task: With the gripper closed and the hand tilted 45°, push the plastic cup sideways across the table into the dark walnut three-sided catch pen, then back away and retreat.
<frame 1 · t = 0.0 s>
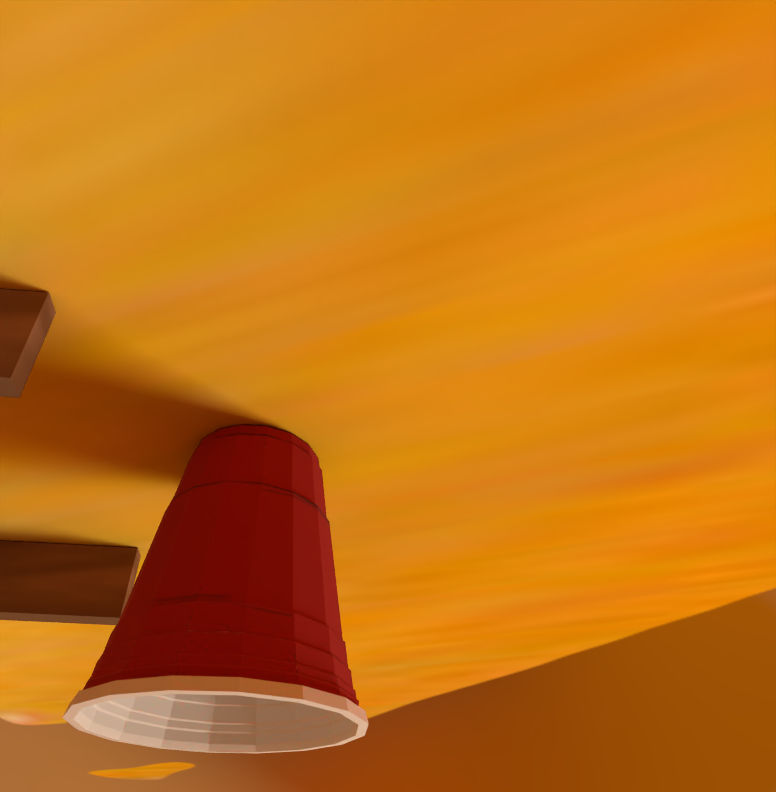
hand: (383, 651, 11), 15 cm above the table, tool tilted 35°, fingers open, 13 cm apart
plastic cup: (259, 460, 34), on the table
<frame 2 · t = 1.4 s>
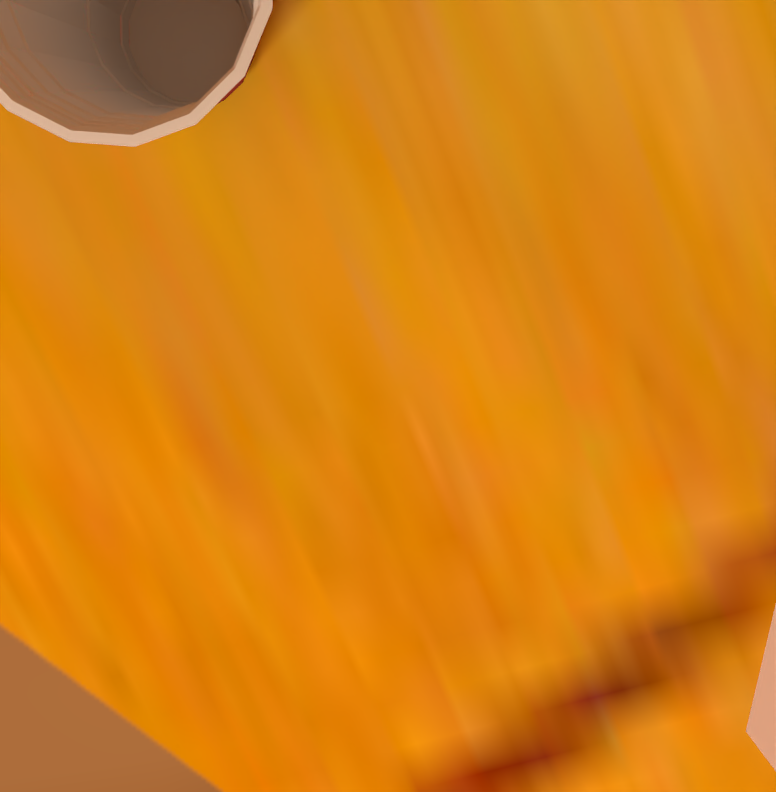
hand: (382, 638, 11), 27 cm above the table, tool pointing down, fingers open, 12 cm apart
plastic cup: (185, 41, 33), on the table
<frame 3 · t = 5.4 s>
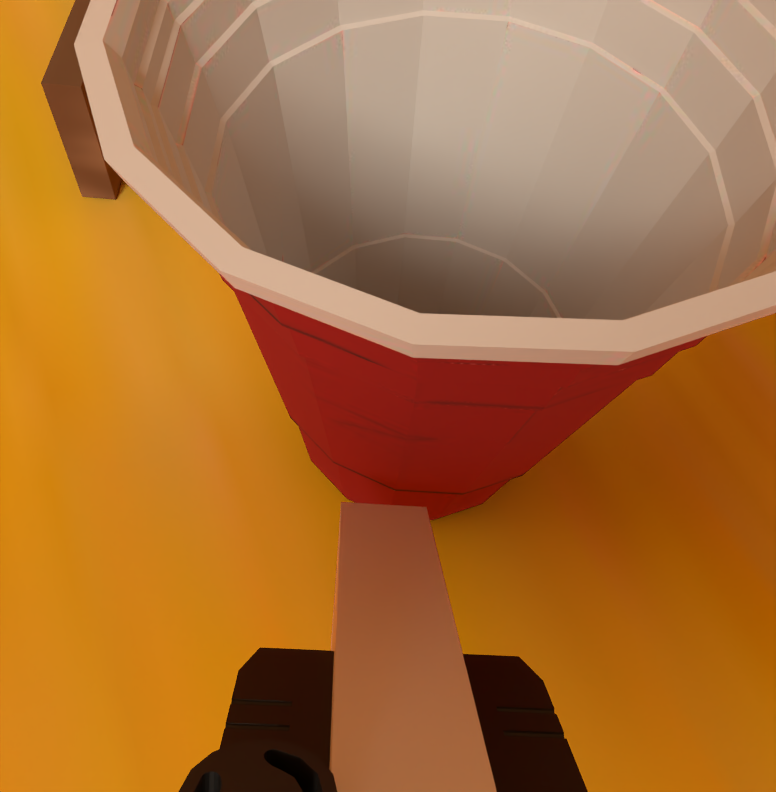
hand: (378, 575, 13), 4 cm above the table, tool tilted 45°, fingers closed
catch pen: (411, 90, 26), on the table
plastic cup: (402, 425, 20), on the table, touching gripper
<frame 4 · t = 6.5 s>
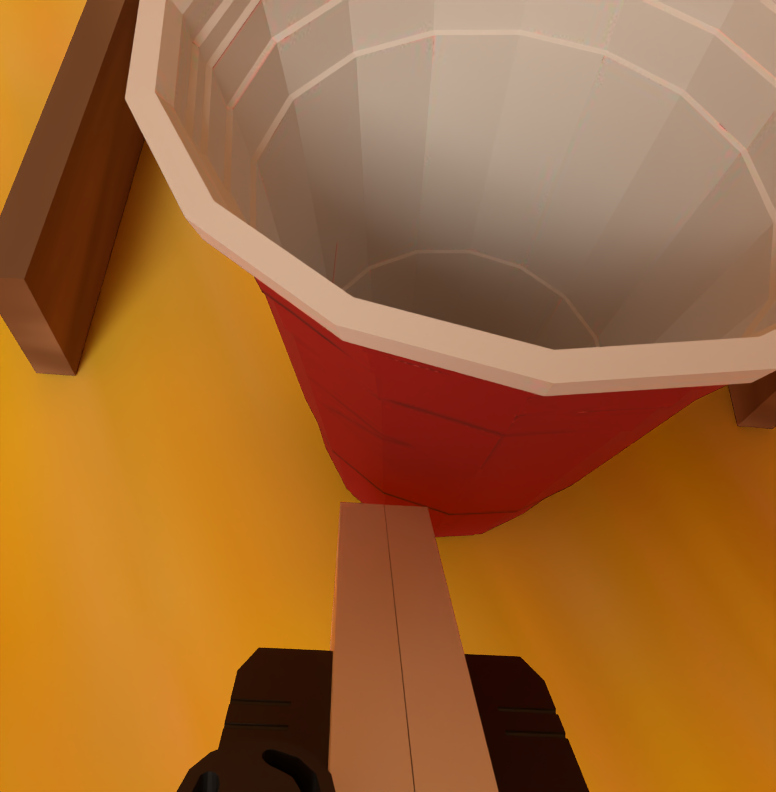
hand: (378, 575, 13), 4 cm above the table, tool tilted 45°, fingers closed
catch pen: (418, 222, 23), on the table
plastic cup: (428, 438, 20), on the table, touching gripper
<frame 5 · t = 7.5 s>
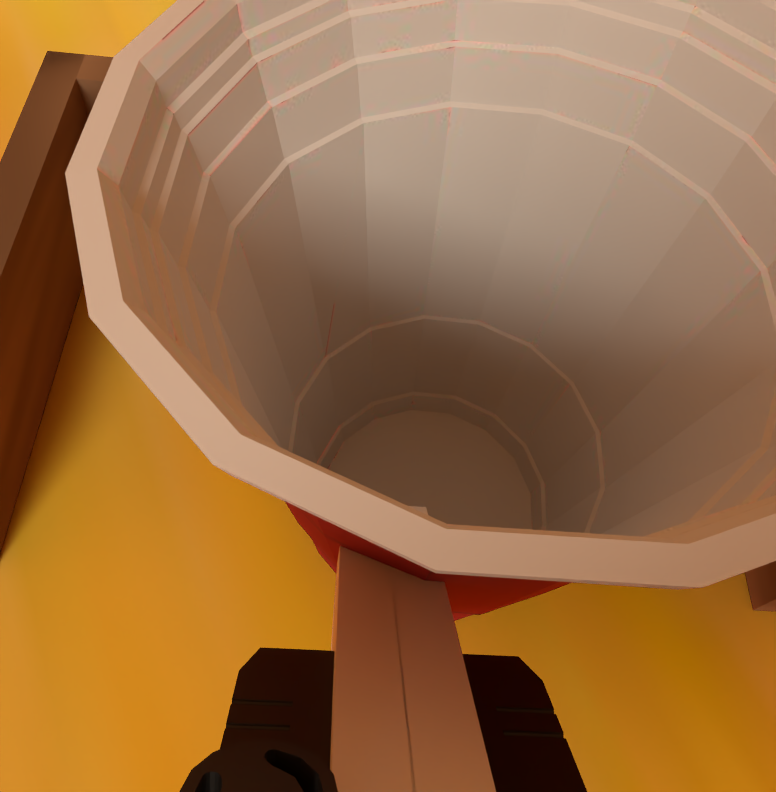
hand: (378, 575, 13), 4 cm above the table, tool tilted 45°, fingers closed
catch pen: (393, 359, 21), on the table
plastic cup: (416, 507, 19), on the table, touching gripper
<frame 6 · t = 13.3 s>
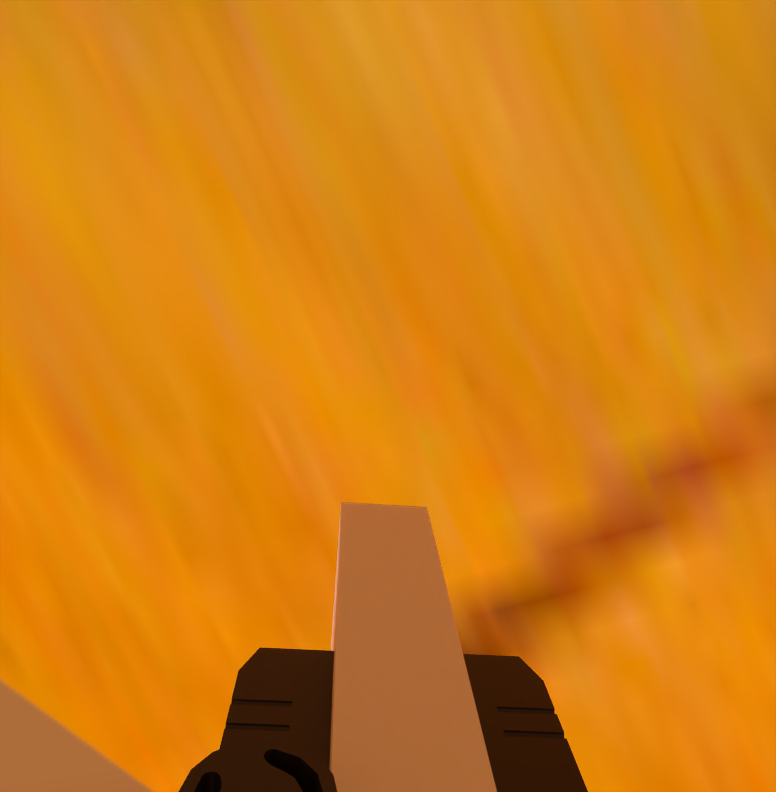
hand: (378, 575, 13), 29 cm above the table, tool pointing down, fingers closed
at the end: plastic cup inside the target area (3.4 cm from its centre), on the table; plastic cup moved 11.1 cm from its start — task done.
